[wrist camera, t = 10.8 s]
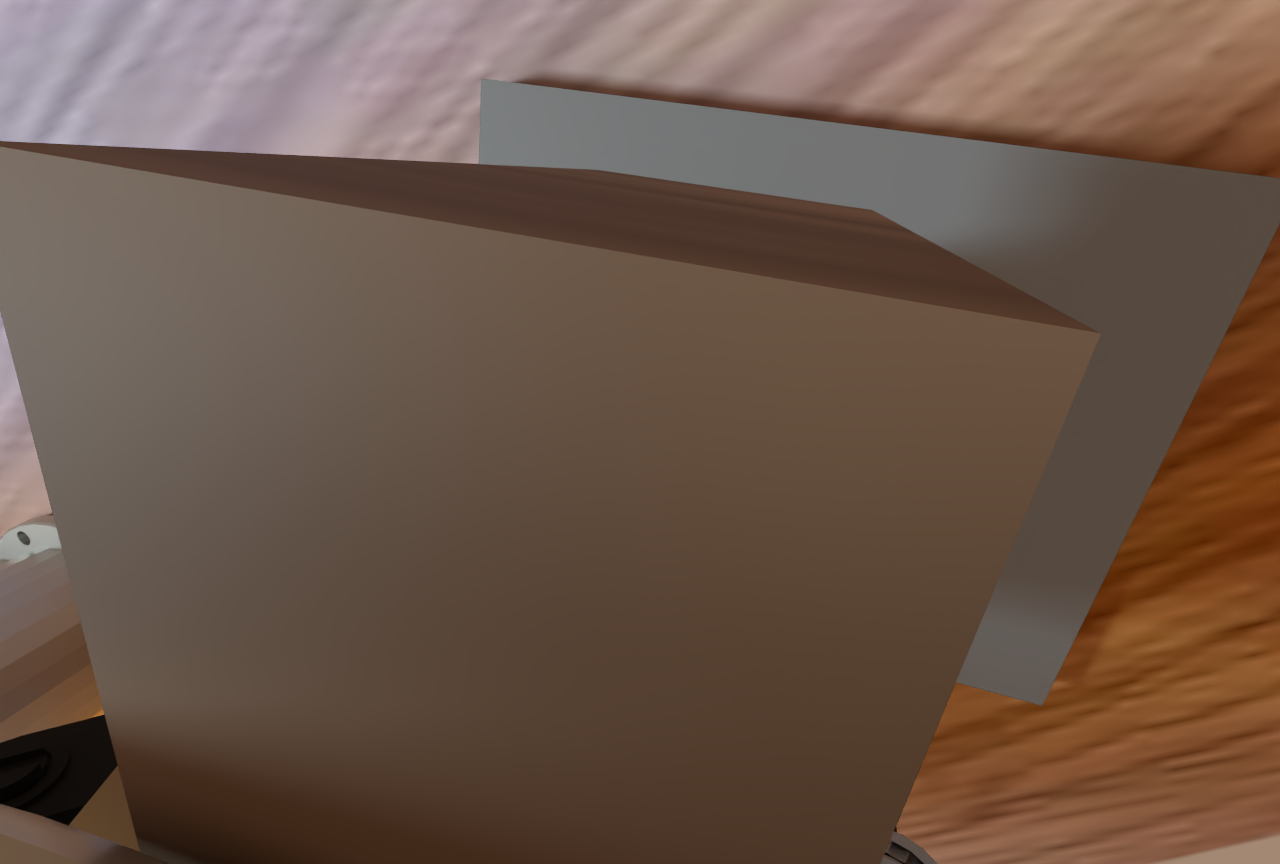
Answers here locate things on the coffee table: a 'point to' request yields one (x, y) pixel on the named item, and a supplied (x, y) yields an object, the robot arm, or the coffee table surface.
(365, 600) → the brown banded block
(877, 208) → the board
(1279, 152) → the coffee table surface
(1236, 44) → the coffee table surface
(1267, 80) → the coffee table surface
